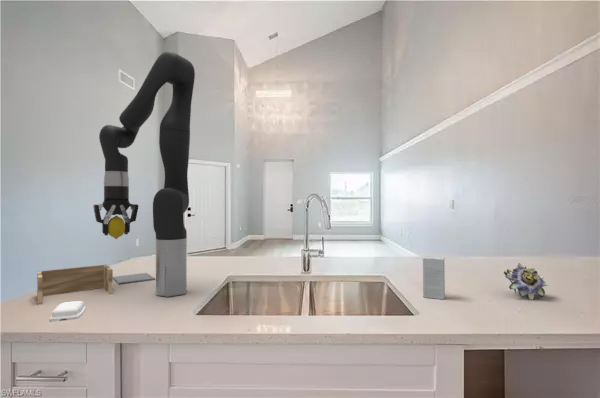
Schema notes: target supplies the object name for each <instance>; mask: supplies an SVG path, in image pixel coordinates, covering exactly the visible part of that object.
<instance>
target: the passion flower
mask: <svg viewBox="0 0 600 398" xmlns="http://www.w3.org/2000/svg"><path fill="white" fill-rule="evenodd" d="M503 274H504V275H505V276H504V277H505V278H506V279H508V280H509V281H510V283H511V284H510V285H509V286H508V288H509V290H514V292H515V294H517V292H518V294H519V296H520V298H523V297H526V298H527V299H528V300H529V301H532V300H533V299H534V297H535V294H537V295H539V296H542V297H544V296H545V295H546V291H545V289H544V288H545V287H547V286H549V282H546V281H545V280H544V276H543V275H541V274H539V273H538V271H537V270H536V268H535V267H531V268H527V266H523V264H522V263H519V262H518V263H517V266H516V267H515V268H513V269H509V268H507V269H506V271H503Z"/></svg>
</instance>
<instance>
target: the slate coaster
mask: <svg viewBox="0 0 600 398" xmlns="http://www.w3.org/2000/svg"><path fill="white" fill-rule="evenodd" d="M113 281H114V282H115V283H117V284H118V285H126V284H133V283H134V284H135V283H143V282H149V281H156V277H154V276H152V275H150V274H149V273H148V272H142V273H134V274H133V273H132V274H125V275H118V276H117V275H116V276H113Z"/></svg>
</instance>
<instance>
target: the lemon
mask: <svg viewBox="0 0 600 398" xmlns="http://www.w3.org/2000/svg"><path fill="white" fill-rule="evenodd" d="M107 224H108V235H109V236H110V237H112V238H113V239H115V240H118V238H120V237H122V236H123V235H124V231H125V221H124V219H123V217H120V216H118V215H114V216H113V217H110V219H109V221H108V223H107Z"/></svg>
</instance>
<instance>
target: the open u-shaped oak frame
mask: <svg viewBox="0 0 600 398" xmlns="http://www.w3.org/2000/svg"><path fill="white" fill-rule="evenodd" d="M113 275H114V274H113V269H112V268H111V267H110V266H109V265H108V264H98V265H89V266H78V267H68V268H59V269H58V268H57V269H48V270H39V271H38V270H37V271H36V297H37V304H38V305H42V304H43V297H44V296H52V295H59V294H66V293H73V292H80V291H81V292H82V291H88V290H89V289H90V290H95V289H104V290H105V291H106V292H107V293H108V295H111V294H112V295H113V292H114V291H113V289H114V288H113V286H114V285H113V281H114V279H113V277H114V276H113Z"/></svg>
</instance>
